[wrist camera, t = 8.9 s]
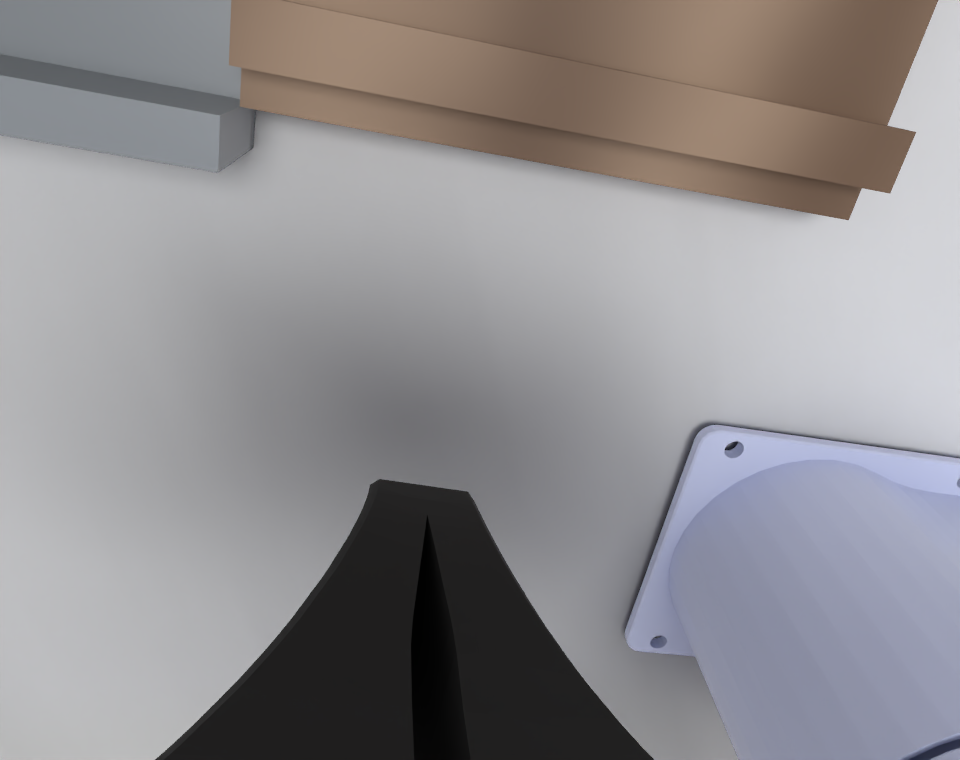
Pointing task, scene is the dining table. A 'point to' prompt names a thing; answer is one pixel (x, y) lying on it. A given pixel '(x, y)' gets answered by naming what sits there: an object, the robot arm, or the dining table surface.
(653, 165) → the ridged plate
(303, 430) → the dining table surface
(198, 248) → the dining table surface
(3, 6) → the tray
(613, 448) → the dining table surface
